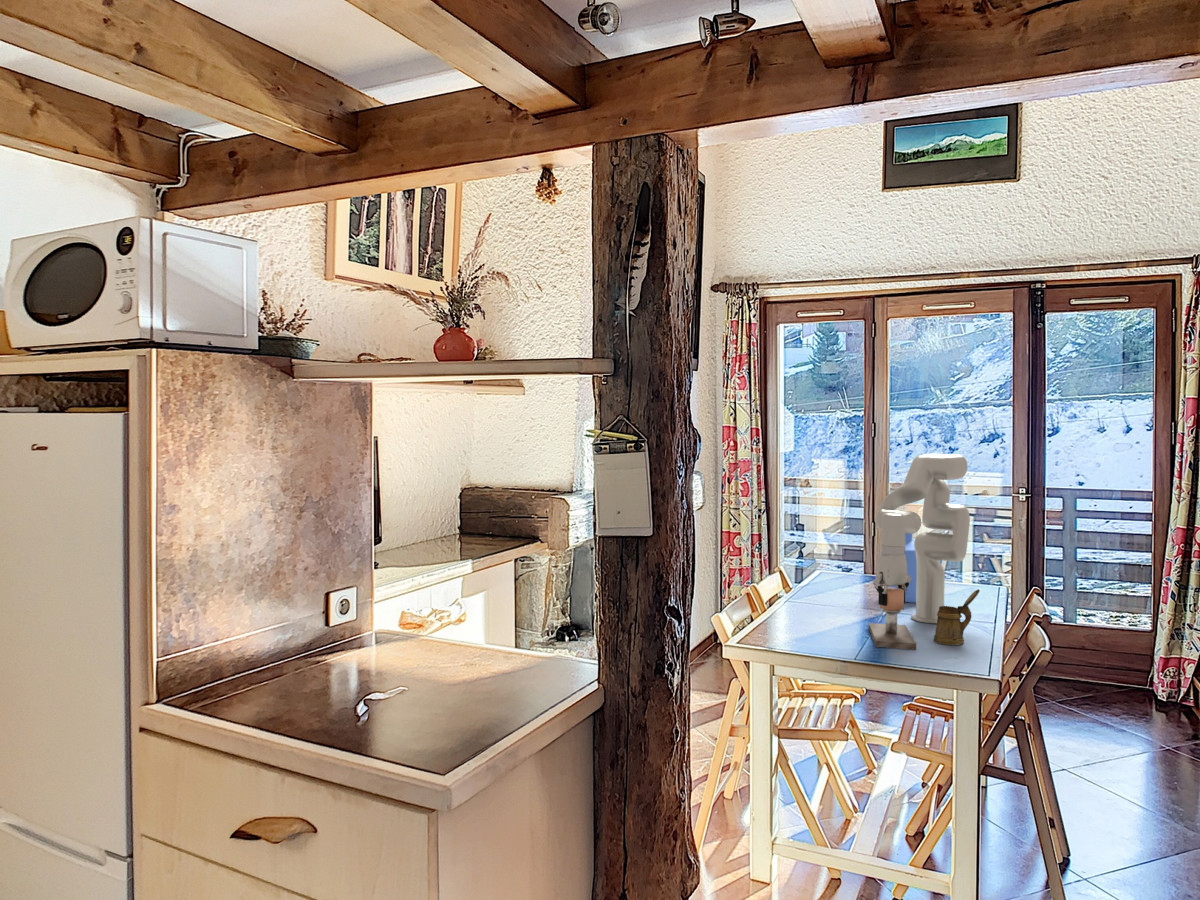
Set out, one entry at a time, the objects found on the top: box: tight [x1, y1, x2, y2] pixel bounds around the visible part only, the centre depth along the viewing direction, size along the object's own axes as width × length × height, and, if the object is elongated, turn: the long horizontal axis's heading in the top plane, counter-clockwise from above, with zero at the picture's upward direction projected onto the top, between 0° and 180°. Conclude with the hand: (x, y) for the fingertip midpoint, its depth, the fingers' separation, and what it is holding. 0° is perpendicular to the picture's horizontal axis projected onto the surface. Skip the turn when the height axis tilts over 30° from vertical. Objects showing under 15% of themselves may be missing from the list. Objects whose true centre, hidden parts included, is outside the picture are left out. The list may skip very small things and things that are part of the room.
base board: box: [868, 622, 917, 651], centre depth 276 cm, size 12×24×2 cm, turn 168°
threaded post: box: [882, 609, 902, 634], centre depth 276 cm, size 6×6×8 cm
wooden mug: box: [933, 589, 980, 646], centre depth 271 cm, size 9×14×18 cm, turn 69°
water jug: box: [888, 534, 917, 604], centre depth 337 cm, size 16×16×28 cm
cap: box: [879, 588, 905, 611], centre depth 276 cm, size 7×7×6 cm
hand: (891, 603), depth 276 cm, fingers closed on cap, 7 cm apart
